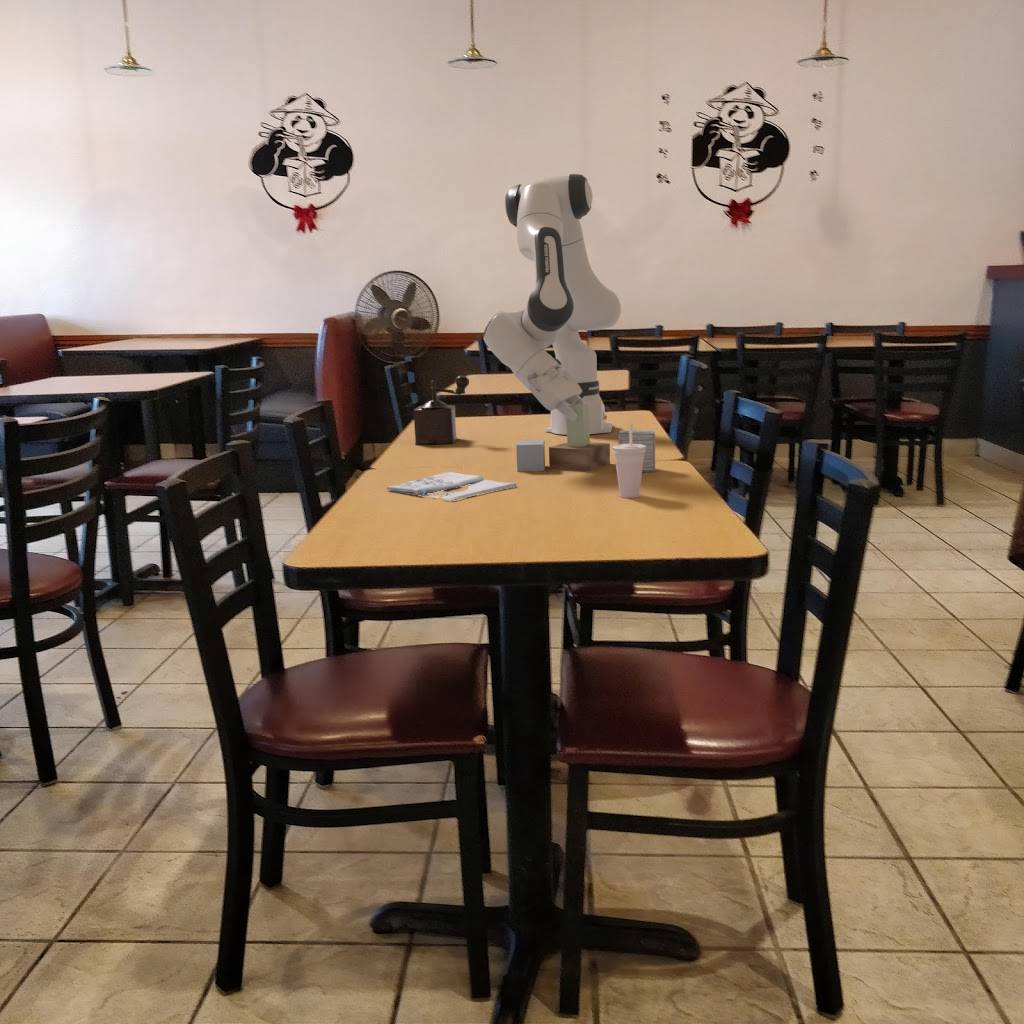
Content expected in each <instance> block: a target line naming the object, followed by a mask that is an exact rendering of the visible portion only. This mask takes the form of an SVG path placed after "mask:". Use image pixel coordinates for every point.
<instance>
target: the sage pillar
mask: <svg viewBox="0 0 1024 1024" xmlns="http://www.w3.org/2000/svg"><path fill="white" fill-rule="evenodd" d="M569 407H570V408H571V409H572V410H575V411H576V412H577V413H578V414H579V416H578V418H577V419H576V420H574V421H571V420H570V419H569V418H568V417H567V416H566V425H567V435H566V440H567V441H566V443H567V444H568V447H585V446H586V445H588V444H590V442H591V436H590V435H591V434H590V433H589V412H588V404H571V405H569Z"/></svg>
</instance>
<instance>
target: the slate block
mask: <svg viewBox="0 0 1024 1024" xmlns="http://www.w3.org/2000/svg"><path fill="white" fill-rule="evenodd" d="M515 445H516V446H515V447H516V468H517V469H516V470H517V472H539V471H540V472H543V471H544V472H545V469H546V455H545V454H546V452H545V451H546V450H545V449H546V448H545V446H546V445H545V439H542V440H541V439H539V440H538V439H537V440H517V442H516V444H515Z"/></svg>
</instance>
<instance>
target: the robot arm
mask: <svg viewBox="0 0 1024 1024" xmlns="http://www.w3.org/2000/svg"><path fill="white" fill-rule="evenodd" d="M504 199H505V200H504V210H505V215H506V216H507V218H508V219H507V220H508V222H509V223H510V224H511V225H513V226H514V227H515V228H516V237H517V238H516V239H517V245H518V249H519V252H520V254H521V255H522V256H523V257H524V258H526V259H528V260H529V261H532V262H534V269H535V285H534V287H533V289H532V290H531V293H530V294H529V297H528V301H527V304H526V306H525V308H523V309H521V310H516V311H510V312H508V311H507V312H506V311H501V310H500V311H499V312H497V313H495V314H494V315H493V316H492V318H491V319H490V320H489V321H488V323H487V325H486V326H485V328H484V331H483V333H482V334H483V335H482V337H483V341H484V343H485V345H486V346H487V348H489V350H490V351H491V352H492V353H493V355H494V356H495V357H496V358H497V359H498V360H499V361H500V362H501V363H502V364H503V365H505V366H507V367H508V368H509V369H510V370H511V371H512V374H513V375H514V377H516V378H517V379H518V381H520V382H521V384H522V385H524V386H525V388H526V389H527V390H528V391H529V392H531V393H532V395H533V396H534V397H535V399H537V401H538V402H539V403H540V404H541V405H542V406H543V407H544V408H545V409H546V410H548V411H550V426H548V427H546V428H545V432H546V433H552V434H555V435H565V436H567V425H566V416H567V417H568V418H569V419H570V420H571V421H574V420H576V419H577V418H578V416H579V414H578V413H577V412H576V411H575V410H572V409H571V408H570V407H569V405H571V404H588V412H589V433H590V435H595V434H596V435H597V434H604V433H606V434H607V433H611V432H612V430H613V426H614V423H613V422H612V421H607V414H606V408H605V407H606V406H605V404H604V402H603V400H602V398H601V395H600V380H598V375H597V374H598V367H597V366H598V362H597V361H598V360H597V359H598V358H597V353H596V351H595V350H594V348H592V347H591V346H590V345H588V344H587V343H586V344H585V343H584V341H583V340H582V338H581V336H580V334H579V331H601V330H605V329H610V328H612V327H614V326H615V325H616V324H617V323H618V321H619V319H620V316H621V311H622V307H621V301H620V299H619V297H618V296H617V295H616V293H615V292H614V291H613V290H610V289H609V288H607V287H606V286H605V285H604V284H603V283H602V282H601V281H600V280H599V279H598V277H597V276H596V274H595V272H594V271H593V269H592V267H591V264H590V261H589V258H588V254H587V249H586V245H585V239H584V234H583V233H584V232H583V228H582V225H581V224H582V223H581V220H582V217H585V216H586V215H588V213H589V212H590V211H591V210H592V205H593V204H592V203H593V191H592V187H591V185H590V183H589V182H588V179H587V177H585V176H584V175H583V174H580V173H579V174H577V173H571V174H569V175H557V176H550V177H544V178H542V179H537V180H534V181H533V180H532V181H529V182H527V183H524V184H521V183H520V184H517V185H514V186H512V187H510V188H509V189H508V191H507V193H506V194H505V198H504ZM550 346H552V348H553V350H554V355H555V357H553V356H552V355H551V354H549V353H548V352H547V350H545V349H547V348H548V347H550Z"/></svg>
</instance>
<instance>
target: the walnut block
mask: <svg viewBox="0 0 1024 1024" xmlns="http://www.w3.org/2000/svg"><path fill="white" fill-rule="evenodd" d="M610 449H611V444H610V443H608V442H607V443H606V442H605V443H604V442H593V441H590V444H588V445H586V446H585V447H568V444H567V442H563V443H561V444H555V445H553V446H548V461H549V462H548V465H549V468H550V469H561V470H570V471H571V470H572V471H582V472H583V471H584V472H588V471H592V470H594V469H597V468H601V467H604V466H606V465H610V464H611V462H610V461H611V455H610V454H611V450H610Z"/></svg>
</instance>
